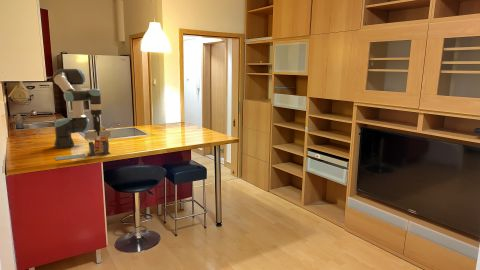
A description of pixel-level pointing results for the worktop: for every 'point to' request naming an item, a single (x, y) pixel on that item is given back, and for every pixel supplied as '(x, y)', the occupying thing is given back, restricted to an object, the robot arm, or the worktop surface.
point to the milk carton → (100, 141)
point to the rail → (93, 134)
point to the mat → (70, 157)
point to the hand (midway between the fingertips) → (97, 139)
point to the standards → (92, 152)
